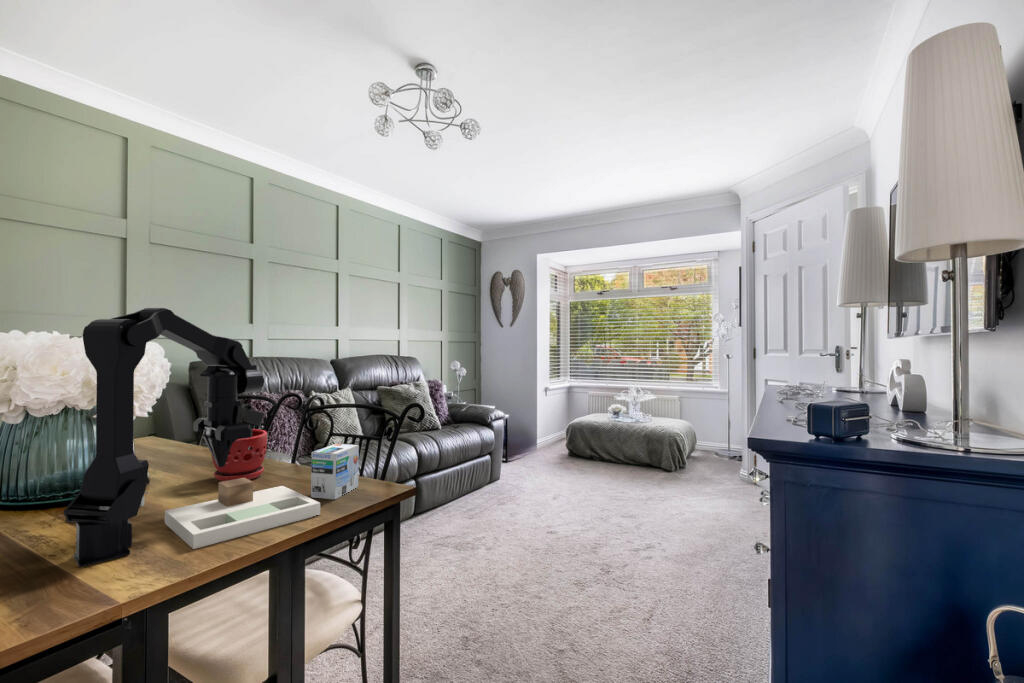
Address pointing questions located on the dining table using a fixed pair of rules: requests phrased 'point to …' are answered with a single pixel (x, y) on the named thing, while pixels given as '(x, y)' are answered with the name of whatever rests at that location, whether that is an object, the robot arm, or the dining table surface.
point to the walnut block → (235, 491)
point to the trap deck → (239, 516)
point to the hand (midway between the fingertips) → (221, 466)
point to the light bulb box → (334, 471)
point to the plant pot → (244, 458)
